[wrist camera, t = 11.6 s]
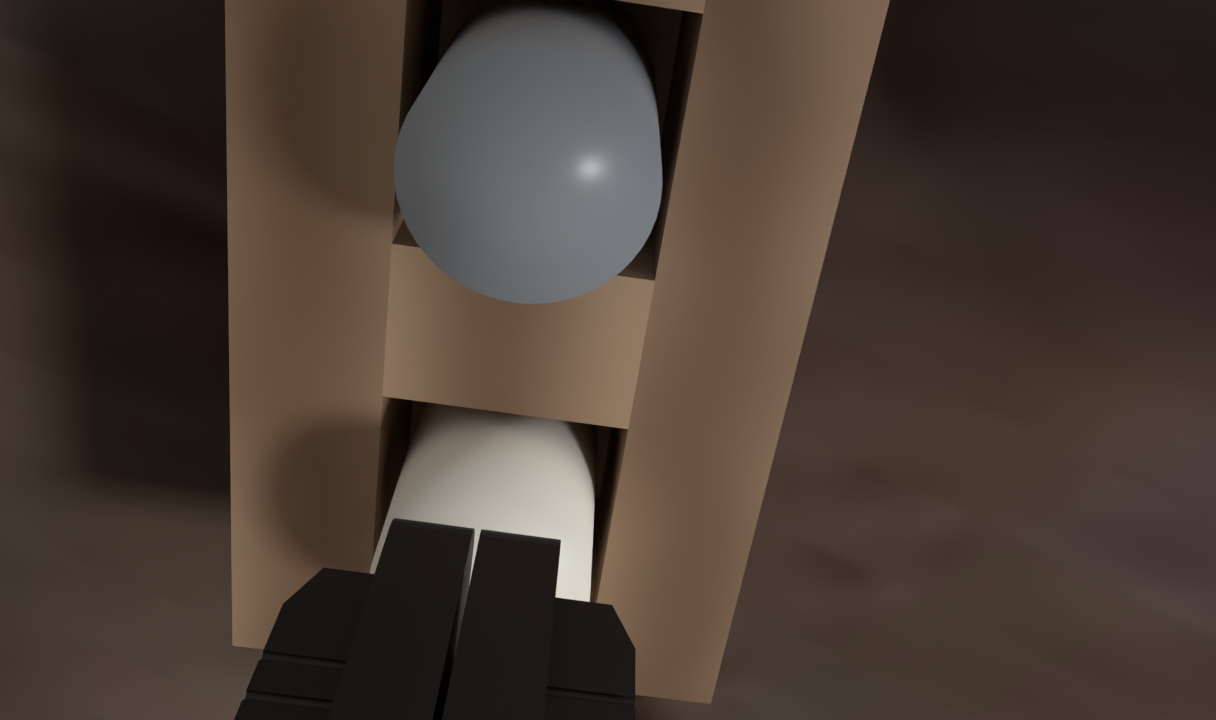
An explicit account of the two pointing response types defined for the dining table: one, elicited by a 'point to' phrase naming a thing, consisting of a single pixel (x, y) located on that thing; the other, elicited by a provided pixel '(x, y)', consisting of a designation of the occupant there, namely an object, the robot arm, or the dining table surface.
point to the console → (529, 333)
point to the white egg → (503, 482)
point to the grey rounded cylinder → (534, 151)
